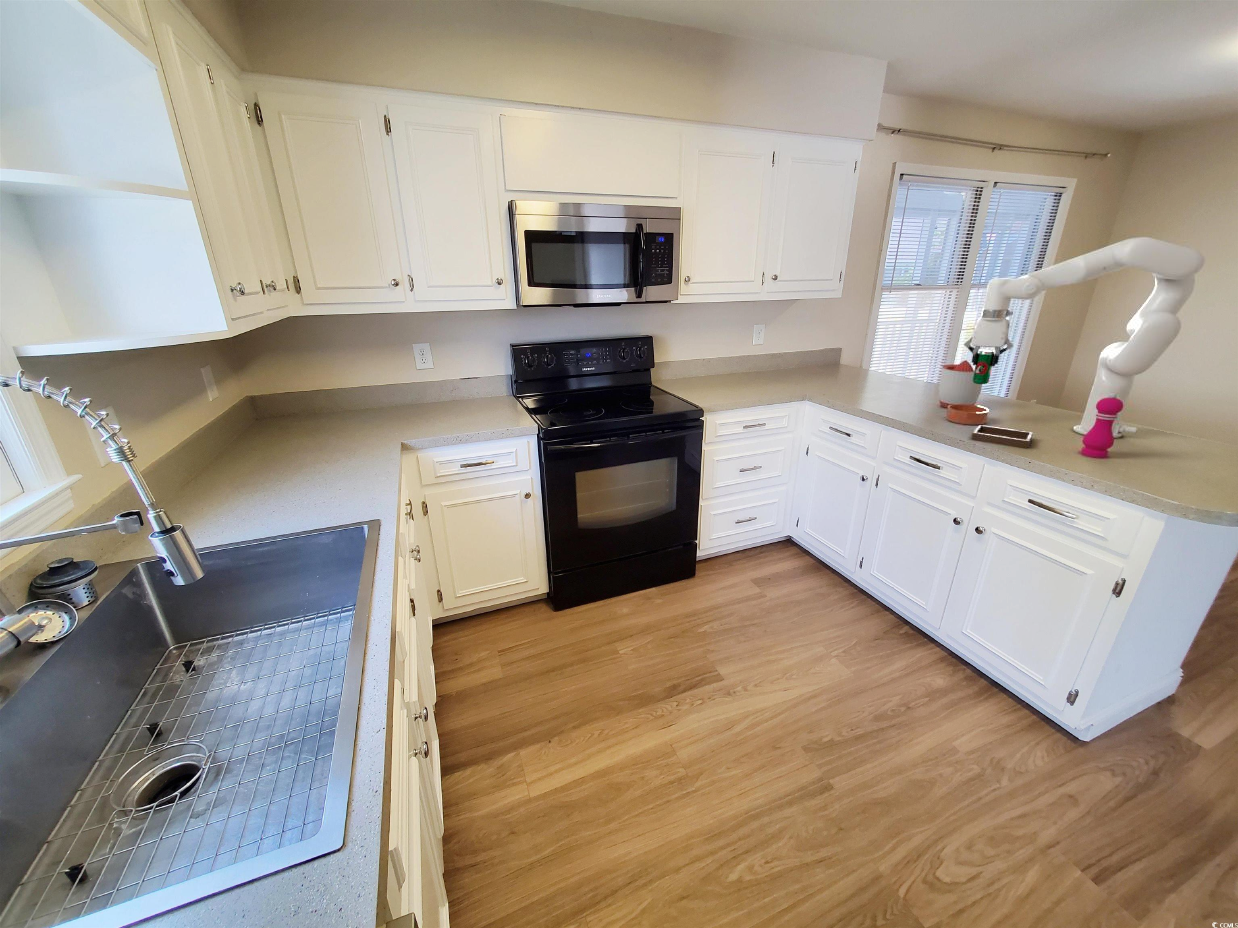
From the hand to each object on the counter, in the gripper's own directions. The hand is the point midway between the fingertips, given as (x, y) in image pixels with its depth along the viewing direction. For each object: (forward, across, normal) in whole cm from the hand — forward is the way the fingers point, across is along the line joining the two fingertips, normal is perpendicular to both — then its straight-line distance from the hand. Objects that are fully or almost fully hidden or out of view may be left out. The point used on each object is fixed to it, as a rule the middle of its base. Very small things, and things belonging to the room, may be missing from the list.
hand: (983, 364), depth 183 cm
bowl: (+23, +3, -2) cm, 23 cm away
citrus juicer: (+23, +10, -24) cm, 35 cm away
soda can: (+7, 0, 0) cm, 7 cm away
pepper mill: (+23, -36, +17) cm, 46 cm away
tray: (+23, -12, +16) cm, 30 cm away
